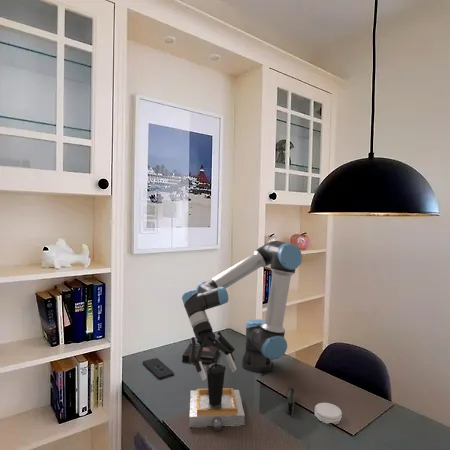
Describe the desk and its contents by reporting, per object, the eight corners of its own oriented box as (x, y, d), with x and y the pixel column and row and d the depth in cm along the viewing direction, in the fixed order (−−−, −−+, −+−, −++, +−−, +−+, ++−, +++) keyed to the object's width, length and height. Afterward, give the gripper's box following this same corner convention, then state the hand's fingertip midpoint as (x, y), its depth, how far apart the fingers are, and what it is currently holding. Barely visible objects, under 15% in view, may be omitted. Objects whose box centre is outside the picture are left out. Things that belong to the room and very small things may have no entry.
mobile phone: (287, 385, 146) (287, 404, 131) (294, 386, 146) (295, 405, 131) (286, 397, 146) (286, 417, 131) (294, 398, 146) (294, 418, 131)
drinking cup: (222, 408, 128) (223, 356, 128) (203, 406, 130) (204, 354, 129) (226, 398, 136) (227, 348, 135) (208, 395, 138) (209, 346, 137)
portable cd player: (219, 352, 191) (219, 345, 191) (213, 365, 174) (213, 358, 174) (190, 349, 193) (190, 342, 193) (182, 363, 176) (182, 355, 176)
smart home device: (158, 377, 157) (142, 361, 174) (158, 380, 157) (141, 364, 174) (174, 372, 162) (157, 357, 178) (174, 376, 162) (157, 360, 178)
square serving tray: (238, 399, 143) (238, 386, 143) (245, 431, 122) (245, 416, 122) (190, 399, 141) (190, 386, 141) (189, 432, 120) (189, 417, 120)
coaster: (347, 421, 130) (347, 412, 130) (328, 429, 125) (328, 419, 125) (327, 408, 139) (327, 399, 138) (309, 414, 134) (309, 405, 133)
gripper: (222, 324, 152) (241, 371, 140) (170, 334, 138) (187, 387, 126) (229, 315, 147) (250, 363, 135) (176, 325, 133) (195, 379, 121)
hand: (220, 375), depth 131 cm, fingers open, 13 cm apart
